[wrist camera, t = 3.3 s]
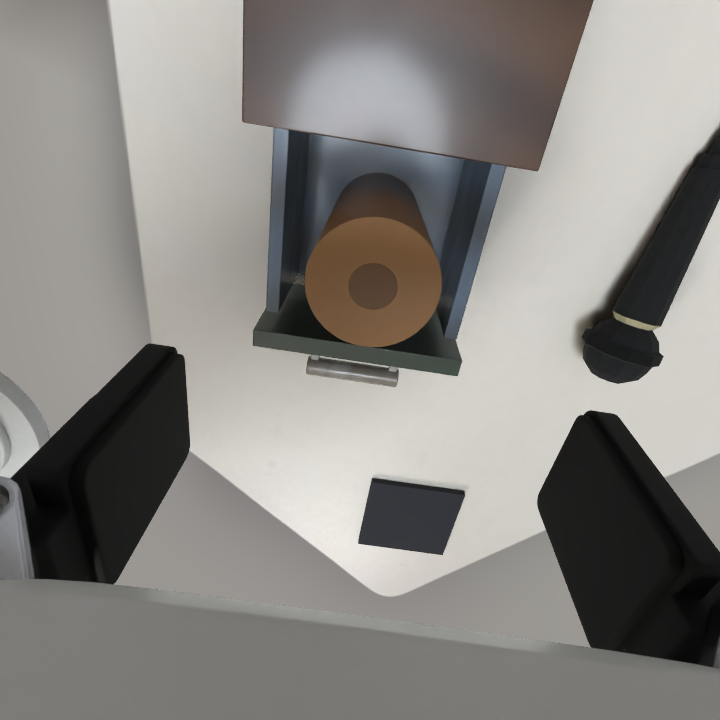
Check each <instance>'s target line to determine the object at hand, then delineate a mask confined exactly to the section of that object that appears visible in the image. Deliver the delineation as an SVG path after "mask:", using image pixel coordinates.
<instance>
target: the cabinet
mask: <svg viewBox="0 0 720 720" xmlns="http://www.w3.org/2000/svg"><path fill="white" fill-rule="evenodd" d="M592 4H593V0H244V1H243V95H242V121H243V122H244V123H250V124H256V125H262V126H268V127H274V128H280V129H286V130H292V131H298V132H304V133H310V134H316V135H322V136H328V137H334V138H340V139H346V140H352V141H358V142H364V143H370V144H376V145H382V146H388V147H394V148H400V149H406V150H412V151H418V152H424V153H430V154H436V155H442V156H448V157H454V158H460V159H466V160H472V161H478V162H484V163H490V164H496V165H502V166H508V167H514V168H520V169H526V170H532V171H538V170H539V167H540V164H541V161H542V158H543V155H544V152H545V148H546V145H547V142H548V139H549V136H550V133H551V130H552V127H553V124H554V121H555V118H556V115H557V111H558V108H559V105H560V102H561V99H562V96H563V93H564V90H565V87H566V84H567V81H568V78H569V74H570V71H571V68H572V65H573V62H574V59H575V56H576V53H577V50H578V47H579V44H580V41H581V37H582V34H583V31H584V28H585V25H586V22H587V19H588V16H589V13H590V10H591V7H592Z"/></svg>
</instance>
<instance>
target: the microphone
mask: <svg viewBox="0 0 720 720" xmlns="http://www.w3.org/2000/svg"><path fill="white" fill-rule="evenodd" d="M719 199H720V134H719V135H718V136H717V138H716V140H715V141H714V143H713V145H712V147H711V148H710V150H709V152H708V154H701V156H700V159H699V161H698V163H697V165H696V167H693V168H691V170H690V172H689V173H688V175H687V177H686V179H685V180H684V182H683V184H682V186H681V188H680V189H679V191H678V193H677V195H676V197H675V198H674V200H673V202H672V204H671V205H670V207H669V209H668V211H667V213H666V214H665V216H664V218H663V220H662V222H661V223H660V225H659V227H658V229H657V230H656V232H655V234H654V236H653V238H652V239H651V241H650V243H649V245H648V247H647V248H646V250H645V252H644V254H643V256H642V257H641V259H640V261H639V263H638V264H637V266H636V268H635V270H634V272H633V273H632V275H631V277H630V279H629V281H628V282H627V284H626V286H625V288H624V289H623V291H622V293H621V295H620V297H619V298H618V300H617V302H616V304H615V306H614V307H613V309H612V311H613V315H614V317H613V318H610V319H607V320H604V321H601V322H599V323H598V324H597V325H596V326H594V327H593V328H587V329H586V331H585V332H584V334H583V336H582V338H583V340H584V341H585V343H584V348H583V359H584V361H585V363H586V365H587V366H588V368H589V369H590V371H591V372H592V373H593V374H594V375H596V376H598V377H599V378H602V379H604V380H607V381H609V382H613V383H617V384H619V383H625V382H630V381H636V380H639V379H640V378H641V377H643V376H644V375H645V374H647V372H648V371H649V370H650V369H651V368H652V367H655V366H659V365H660V363H661V361H662V358H663V356H662V355H661V354H660V353H659V342H658V340H657V338H656V336H655V334H654V333H653V331H652V330H654V329H656V328H658V327H660V326H661V325H662V323H663V321H664V319H665V316H666V314H667V312H668V310H669V308H670V305H671V303H672V301H673V299H674V297H675V295H676V292H677V290H678V288H679V286H680V284H681V282H682V279H683V277H684V275H685V273H686V271H687V269H688V266H689V264H690V262H691V260H692V258H693V256H694V253H695V251H696V249H697V247H698V245H699V243H700V240H701V238H702V236H703V234H704V232H705V230H706V227H707V225H708V223H709V221H710V219H711V216H712V214H713V212H714V210H715V208H716V206H717V203H718V201H719Z"/></svg>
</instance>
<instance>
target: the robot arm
mask: <svg viewBox="0 0 720 720" xmlns="http://www.w3.org/2000/svg"><path fill="white" fill-rule="evenodd" d="M189 448H190V435H189V419H188V404H187V388H186V373H185V360H184V356H183V355H181V354H178V353H177V350H176V348H174V347H170V346H163V345H157V344H147V345H146V346H145V347H143V348H142V349H141V351H139V353H137V354H136V356H134V358H133V359H132V360H130V361H129V362H128V363H127V364H126V365H125V366H124V368H122V369H121V370H120V371H119V372H118V373H117V375H115V376H114V377H113V378H112V379H111V380H110V381H109V382H108V383H107V384H106V385H105V386H104V387H103V388H102V389H101V390H100V391H99V392H98V394H96V395H95V396H94V397H92V398H91V399H90V400H89V401H88V402H87V403H86V404H85V405H84V406H83V407H82V408H81V409H80V410H79V411H78V412H77V413H76V414H75V415H74V416H73V417H72V418H71V419H70V420H69V421H68V422H67V423H65V425H63V427H61V429H60V430H59V431H57V432H56V433H55V434H54V435H53V436H52V437H51V438H50V439H49V440H48V441H47V442H46V443H45V444H44V445H43V446H42V447H41V448H40V449H39V450H38V451H37V452H36V453H35V454H34V455H33V456H32V457H31V458H30V459H29V460H28V461H27V462H26V463H25V464H24V465H23V466H22V467H21V468H20V469H19V470H18V471H17V472H16V473H15V474H14V475H13V476H12V477H11V478H7V477H2V476H0V720H720V552H719V551H718V549H717V548H716V547H715V545H714V544H713V543H712V541H711V540H710V539H709V537H708V536H707V535H706V533H705V532H704V531H703V529H702V528H701V527H700V525H699V524H698V523H697V521H696V520H695V519H694V518H693V516H692V514H691V513H690V512H689V510H688V509H687V508H686V507H685V505H684V504H683V503H682V501H681V500H680V498H679V497H678V496H677V494H676V493H675V492H674V491H673V489H672V488H671V486H670V485H669V484H668V482H667V481H666V480H665V478H664V477H663V476H662V474H661V473H660V472H659V470H658V469H657V468H656V466H655V465H654V464H653V462H652V461H651V460H650V458H649V457H648V456H647V454H646V453H645V452H644V450H643V449H642V448H641V446H640V445H639V444H638V442H637V441H636V440H635V438H634V437H633V436H632V434H631V433H630V432H629V430H628V429H627V428H626V426H625V425H624V424H623V422H622V421H621V420H620V418H619V417H618V416H617V415H615V414H611V413H604V412H598V411H587V412H586V413H585V414H584V415H580V416H578V417H577V419H576V420H575V422H574V424H573V426H572V428H571V430H570V432H569V434H568V436H567V438H566V440H565V442H564V444H563V446H562V448H561V450H560V452H559V454H558V456H557V458H556V460H555V462H554V464H553V466H552V468H551V470H550V472H549V474H548V476H547V478H546V480H545V482H544V484H543V486H542V488H541V490H540V492H539V495H538V500H537V504H538V509H539V512H540V515H541V518H542V520H543V523H544V526H545V528H546V531H547V533H548V536H549V539H550V541H551V543H552V546H553V549H554V552H555V555H556V557H557V560H558V563H559V565H560V568H561V570H562V573H563V576H564V579H565V581H566V584H567V586H568V589H569V592H570V594H571V597H572V600H573V602H574V605H575V608H576V610H577V613H578V616H579V618H580V621H581V624H582V626H583V629H584V632H585V634H586V637H587V639H588V642H589V644H590V646H591V648H589V647H582V646H575V645H567V644H561V643H554V642H546V641H540V640H533V639H526V638H519V637H512V636H504V635H497V634H491V633H483V632H476V631H468V630H461V629H454V628H447V627H440V626H433V625H425V624H417V623H411V622H403V621H396V620H388V619H380V618H374V617H366V616H359V615H352V614H344V613H337V612H329V611H322V610H314V609H307V608H299V607H292V606H284V605H276V604H269V603H261V602H253V601H245V600H238V599H230V598H222V597H214V596H206V595H200V594H192V593H184V592H176V591H167V590H158V589H149V588H140V587H131V586H122V585H114V583H115V582H116V581H117V579H118V578H119V576H120V574H121V572H122V571H123V569H124V567H125V565H126V564H127V562H128V560H129V558H130V557H131V555H132V553H133V551H134V549H135V548H136V546H137V544H138V543H139V541H140V539H141V537H142V536H143V534H144V532H145V530H146V528H147V527H148V525H149V523H150V521H151V520H152V518H153V516H154V514H155V513H156V511H157V509H158V507H159V505H160V504H161V502H162V500H163V498H164V497H165V495H166V493H167V491H168V490H169V488H170V486H171V484H172V483H173V481H174V479H175V477H176V476H177V474H178V472H179V470H180V469H181V467H182V465H183V463H184V461H185V460H186V458H187V455H188V452H189ZM10 454H11V445H10V441H9V438H8V435H7V433H6V431H5V429H4V427H3V426H2V424H1V423H0V470H1V469H2V468H3V467H4V466H5V465H6V464H7V462H8V461H9V458H10Z"/></svg>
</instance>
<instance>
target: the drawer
mask: <svg viewBox="0 0 720 720" xmlns="http://www.w3.org/2000/svg"><path fill="white" fill-rule="evenodd" d="M505 169H506V166H502V165H496V164H490V163H484V162H478V161H472V160H466V159H460V158H454V157H448V156H442V155H436V154H430V153H424V152H418V151H412V150H406V149H400V148H394V147H388V146H382V145H376V144H370V143H364V142H358V141H352V140H346V139H340V138H334V137H328V136H322V135H316V134H310V133H304V132H298V131H292V130H286V129H280V128H274V136H273V159H272V183H271V206H270V230H269V253H268V276H267V300H266V309H265V311H264V312H263V314H262V316H261V318H260V319H259V321H258V323H257V324H256V326H255V328H254V330H253V346H258V347H265V348H272V349H278V350H285V351H292V352H299V353H305V354H311V356H309V358H308V362H307V368H306V374H310V375H316V376H323V377H330V378H337V379H344V380H350V381H357V382H364V383H371V384H378V385H384V386H391V387H396V386H397V382H398V376H399V371H398V369H397V367H399V368H406V369H413V370H419V371H426V372H433V373H440V374H446V375H453V376H458V373H459V370H460V366H461V363H462V359H461V356H460V353H459V350H458V347H457V343H456V340H455V339H457V335H458V332H459V328H460V325H461V321H462V318H463V315H464V311H465V308H466V304H467V301H468V297H469V294H470V290H471V287H472V283H473V280H474V277H475V273H476V270H477V266H478V263H479V259H480V256H481V252H482V249H483V245H484V242H485V238H486V235H487V232H488V228H489V225H490V221H491V218H492V214H493V211H494V207H495V204H496V200H497V197H498V194H499V190H500V187H501V183H502V180H503V176H504V173H505ZM369 173H385V174H389V175H392V176H394V177H396V178H398V179H400V180H401V181H402V182H404V183H405V184H406V185H407V186H408V187H409V189H410V190H411V191H412V193H413V195H414V197H415V199H416V202H417V205H418V207H419V210H420V213H421V215H422V218H423V221H424V223H425V226H426V229H427V231H428V234H429V237H430V240H431V242H432V245H433V248H434V250H435V253H436V256H437V258H438V261H439V264H440V269H441V275H442V290H441V295H440V299H439V302H438V305H437V307H436V309H435V311H434V313H433V315H432V316H431V318H430V319H429V321H428V322H427V323H426V324H425V325H424V326H423V327H422V328H421V329H420V330H419V331H418V332H417V333H415V334H414V335H412V336H411V337H409V338H407V339H405V340H404V341H401V342H399V343H396V344H392V345H389V346H383V347H364V346H358V345H354V344H351V343H348V342H346V341H343V340H341V339H339V338H338V337H336V336H334V335H333V334H331V333H330V332H329V331H328V330H327V329H325V328H324V327H323V325H322V324H321V323H320V322H319V321H318V320H317V318H316V317H315V315H314V314H313V312H312V310H311V308H310V305H309V303H308V300H307V296H306V291H305V285H299V284H293V283H294V281H295V279H296V277H297V275H298V273H301V274H305V272H306V267H307V263H308V260H309V258H310V255H311V253H312V251H313V249H314V247H315V245H316V243H317V241H318V239H319V237H320V235H321V233H322V231H323V228H324V226H325V224H326V222H327V220H328V218H329V216H330V214H331V212H332V210H333V208H334V206H335V204H336V202H337V200H338V198H339V196H340V194H341V192H342V191H343V189H344V188H345V187H346V186H347V185H348V184H349V183H350V182H351V181H353V180H354V179H356V178H358V177H360V176H362V175H365V174H369ZM319 356H325V357H332V358H339V359H346V360H352V361H359V362H366V363H372V364H379V365H386V366H389V368H386V367H379V366H373V365H366V364H359V363H352V362H346V361H339V360H332V359H326V358H319Z"/></svg>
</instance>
